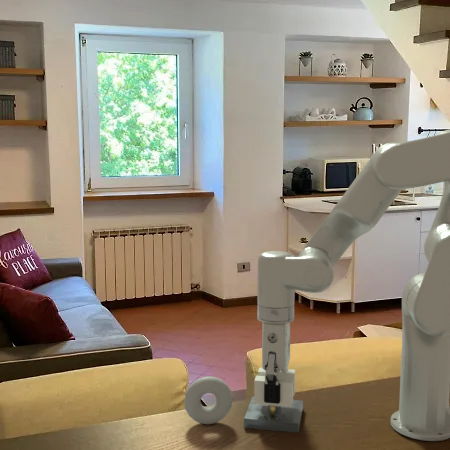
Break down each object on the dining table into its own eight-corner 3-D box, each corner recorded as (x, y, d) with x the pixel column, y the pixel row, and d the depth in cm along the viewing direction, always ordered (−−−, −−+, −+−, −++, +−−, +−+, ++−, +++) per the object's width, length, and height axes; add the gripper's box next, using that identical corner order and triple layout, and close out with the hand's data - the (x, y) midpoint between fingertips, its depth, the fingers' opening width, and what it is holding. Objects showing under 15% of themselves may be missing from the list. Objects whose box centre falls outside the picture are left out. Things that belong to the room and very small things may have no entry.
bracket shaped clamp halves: (294, 392, 134) (295, 369, 133) (291, 407, 127) (291, 383, 126) (259, 389, 136) (259, 367, 135) (254, 404, 128) (254, 380, 127)
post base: (302, 409, 136) (303, 380, 135) (298, 432, 125) (299, 401, 124) (252, 405, 138) (252, 376, 137) (244, 427, 127) (244, 397, 127)
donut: (231, 418, 132) (231, 372, 130) (233, 425, 128) (234, 378, 127) (183, 421, 130) (183, 375, 129) (184, 428, 127) (184, 381, 126)
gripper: (290, 326, 119) (288, 414, 122) (297, 302, 136) (296, 379, 139) (250, 323, 121) (250, 410, 123) (263, 300, 138) (262, 377, 140)
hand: (274, 393), depth 131 cm, fingers closed on bracket shaped clamp halves, 7 cm apart
